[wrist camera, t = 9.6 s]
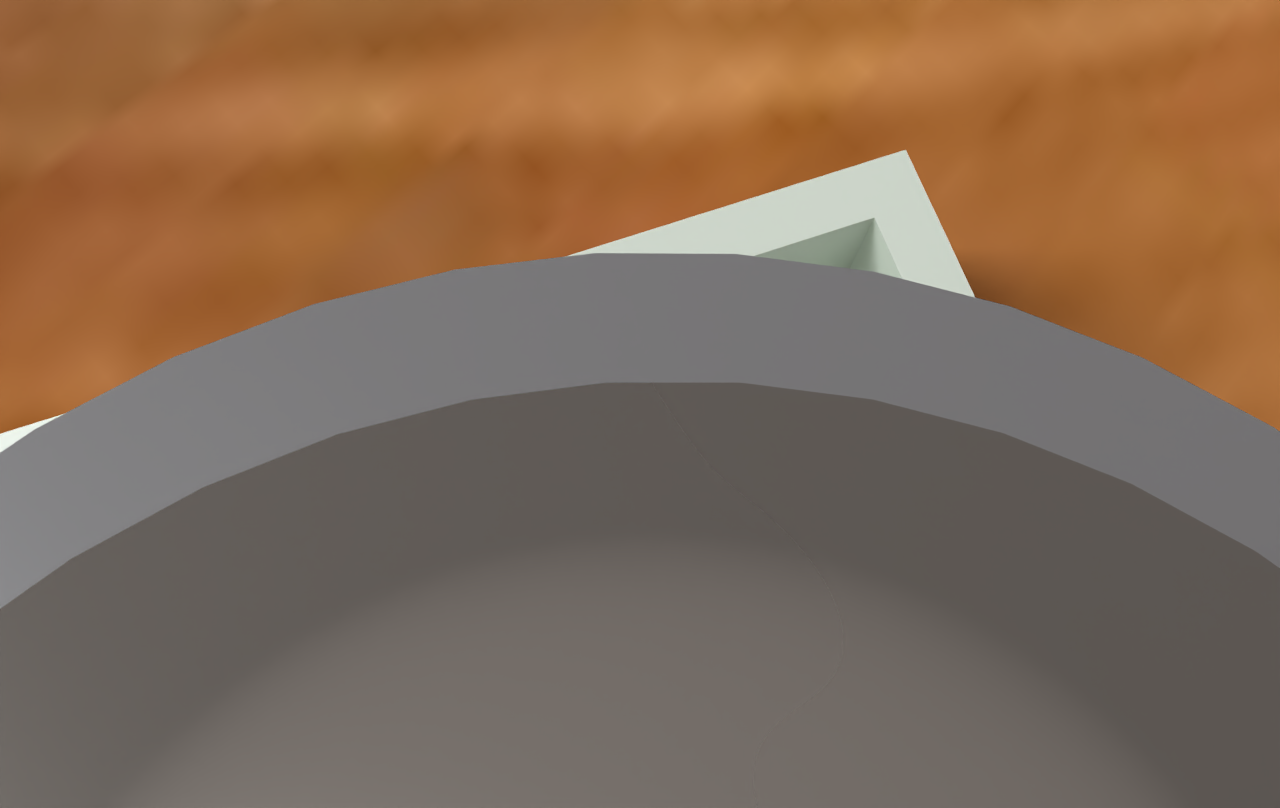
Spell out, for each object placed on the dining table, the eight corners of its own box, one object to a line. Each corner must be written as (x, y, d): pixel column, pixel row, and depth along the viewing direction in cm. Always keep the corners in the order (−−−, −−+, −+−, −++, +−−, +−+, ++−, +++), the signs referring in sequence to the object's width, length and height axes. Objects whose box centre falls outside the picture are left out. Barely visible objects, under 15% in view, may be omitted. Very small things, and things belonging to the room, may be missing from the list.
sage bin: (1240, 1103, 14) (1404, 1208, 11) (268, 1521, 12) (157, 1766, 9) (859, 244, 17) (905, 149, 14) (68, 499, 16) (-58, 452, 13)
